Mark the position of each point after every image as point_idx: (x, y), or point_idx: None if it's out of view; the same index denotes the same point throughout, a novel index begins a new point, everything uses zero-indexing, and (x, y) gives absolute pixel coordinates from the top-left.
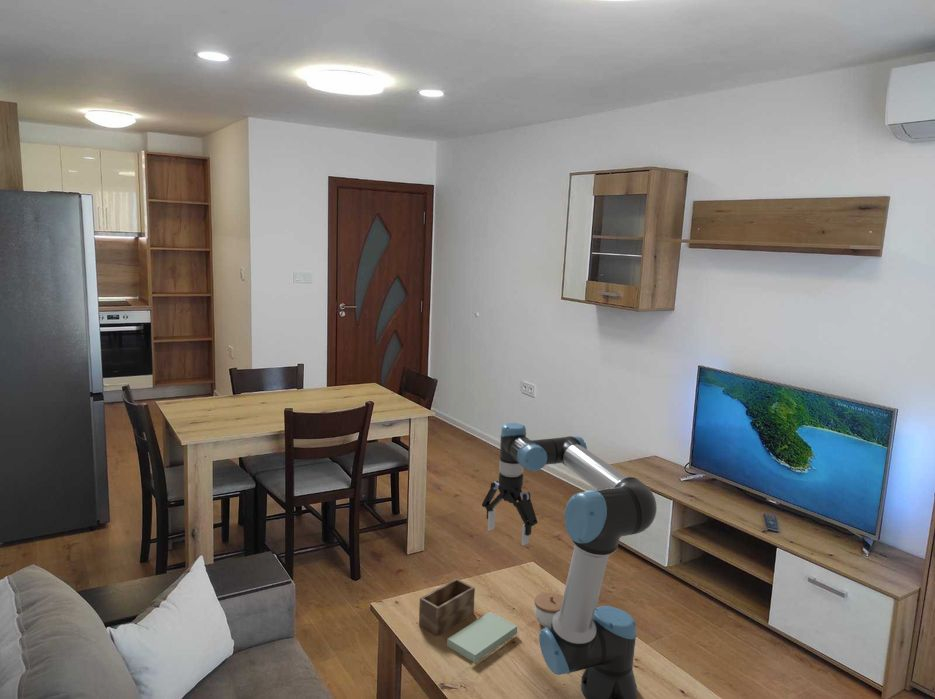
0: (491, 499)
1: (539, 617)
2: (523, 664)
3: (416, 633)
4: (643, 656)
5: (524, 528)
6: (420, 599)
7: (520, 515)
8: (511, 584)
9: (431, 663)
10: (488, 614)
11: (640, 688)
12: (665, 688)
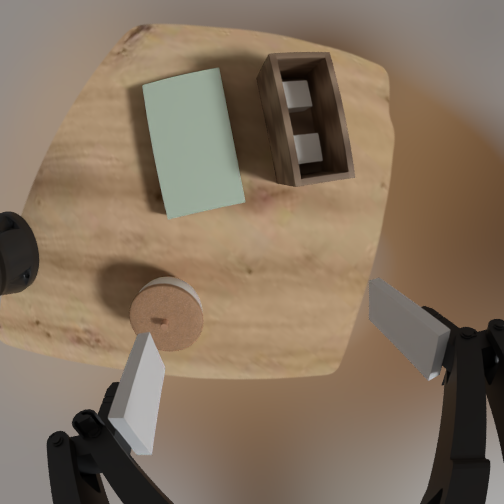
0: (490, 397)
1: (163, 277)
2: (99, 171)
3: None
4: (51, 346)
5: (112, 404)
6: (326, 53)
7: (141, 478)
8: (314, 316)
9: (201, 35)
10: (238, 191)
11: None
12: (3, 315)
